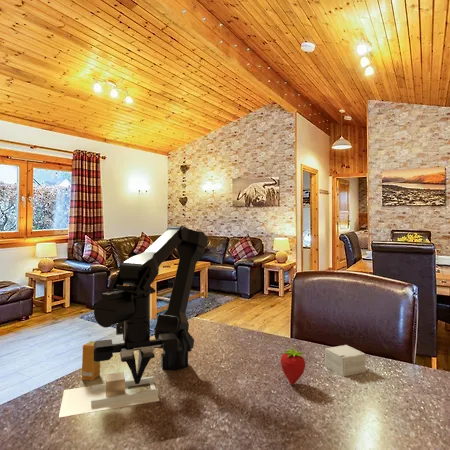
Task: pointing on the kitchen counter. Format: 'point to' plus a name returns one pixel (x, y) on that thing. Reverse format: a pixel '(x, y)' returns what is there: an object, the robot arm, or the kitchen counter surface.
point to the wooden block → (115, 384)
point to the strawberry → (292, 365)
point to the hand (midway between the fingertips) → (137, 383)
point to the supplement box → (89, 363)
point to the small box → (345, 360)
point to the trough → (104, 398)
